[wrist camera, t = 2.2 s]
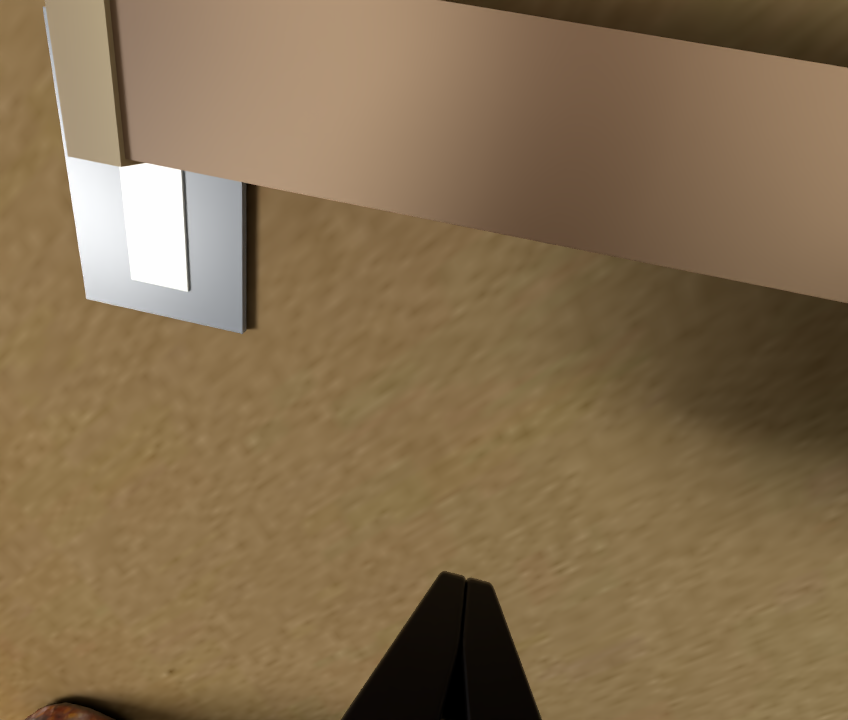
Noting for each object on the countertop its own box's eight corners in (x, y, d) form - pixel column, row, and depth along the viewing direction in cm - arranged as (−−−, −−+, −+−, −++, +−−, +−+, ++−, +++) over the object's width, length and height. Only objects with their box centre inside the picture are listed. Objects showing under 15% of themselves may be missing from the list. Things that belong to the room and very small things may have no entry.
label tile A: (246, 330, 13) (241, 334, 12) (92, 296, 13) (84, 299, 13) (246, 42, 10) (239, 41, 10) (50, 7, 10) (40, 6, 10)
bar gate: (1085, 124, 7) (1344, 134, 5) (968, 297, 9) (1132, 370, 6) (167, -30, 8) (33, -79, 6) (176, 143, 10) (67, 156, 7)
